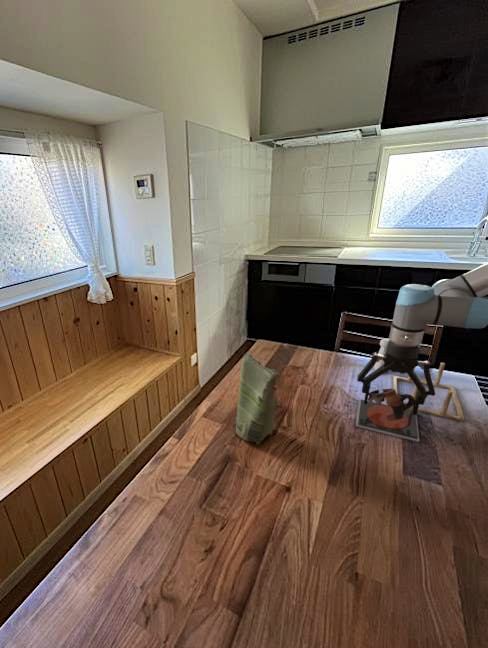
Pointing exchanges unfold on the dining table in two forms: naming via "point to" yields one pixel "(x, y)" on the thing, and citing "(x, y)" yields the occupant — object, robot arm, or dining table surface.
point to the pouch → (255, 400)
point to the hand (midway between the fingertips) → (389, 406)
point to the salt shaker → (381, 352)
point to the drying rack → (447, 400)
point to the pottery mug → (392, 402)
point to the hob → (377, 421)
